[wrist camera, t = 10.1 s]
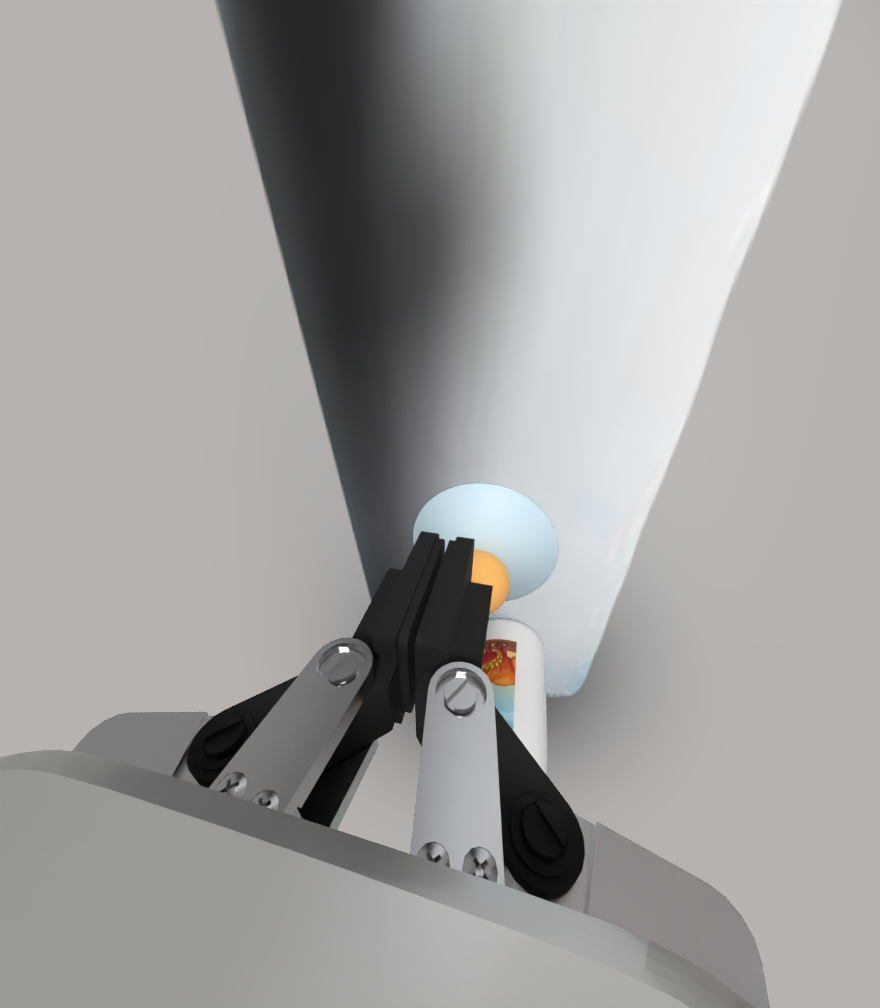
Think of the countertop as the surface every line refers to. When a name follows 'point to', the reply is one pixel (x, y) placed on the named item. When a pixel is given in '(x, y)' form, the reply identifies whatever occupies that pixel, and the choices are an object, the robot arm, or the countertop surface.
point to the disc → (496, 530)
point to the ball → (491, 576)
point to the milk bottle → (518, 682)
